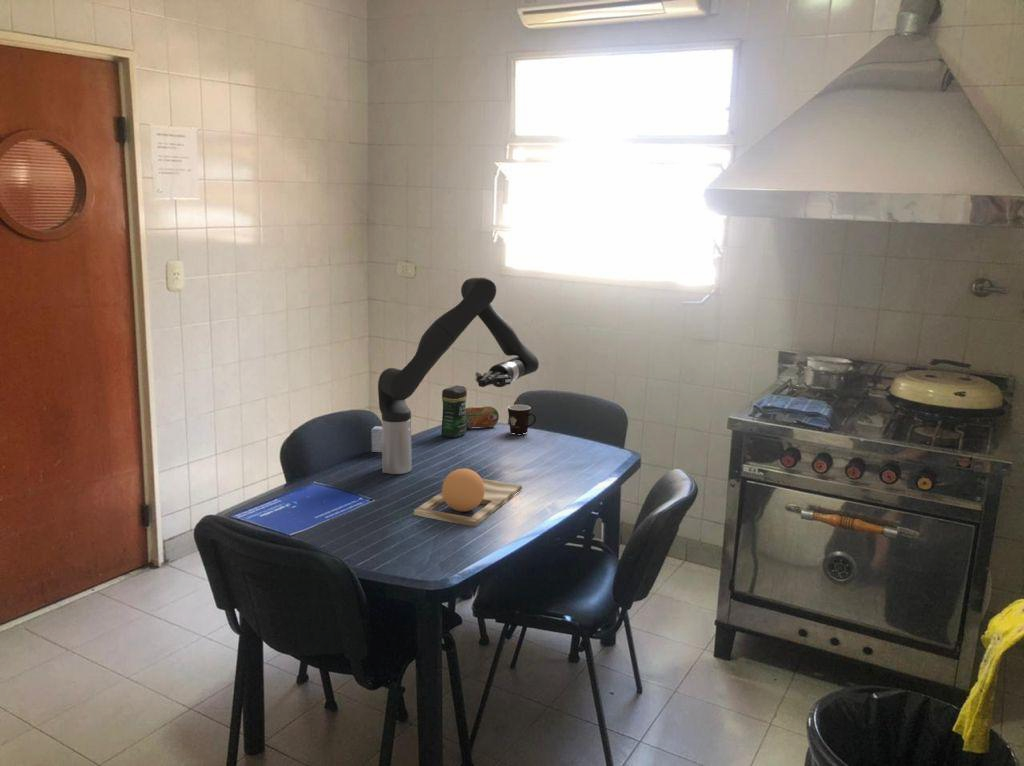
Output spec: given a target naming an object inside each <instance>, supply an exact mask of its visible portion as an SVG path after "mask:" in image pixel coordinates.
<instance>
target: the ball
mask: <svg viewBox="0 0 1024 766" xmlns="http://www.w3.org/2000/svg"><path fill="white" fill-rule="evenodd" d="M482 479H483V478H482V476H480V475H479V474H478V473H477V472H476V471H474V470H472V469H470V468H457V469H455V470H453V471H451V472H450V473H449V474H448V475H447V476H446V477H445V479H444V480H443V483H442V488H441V492H442V494H443V498H444V500H445V501H444V502H445V504H446V505H448V507H449V508H451V509H453V510H455V511H458V512H469V511H471V510H473V509H475V508H477V507H478V506H479V505H481V504H480V503H481V501H482V499H483V497H484V492H485V487H484V483H483V480H482Z"/></svg>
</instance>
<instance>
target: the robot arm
mask: <svg viewBox="0 0 1024 766" xmlns="http://www.w3.org/2000/svg"><path fill="white" fill-rule="evenodd" d="M460 287H461V289H460V293H461V297H462V298H463V299H462V300H461V301H460V302H458V304H457V305H456V306H454V307H453V308H451V309H449V310H448V311H447V312H445V313H443V314H442V315H441V316H439V317H438V318H437V319H436V320H434V321H433V322H432V324H430V326H429V327H428V328H427V329H426V330H425V331H424V333H422V336H421V338H420V339H419V342H418V346H417V350H416V351H415V354H414V355H413V357H412V359H411V360H409V362H408V363H407V365H405V366H404V367H403V368H402V369H398V368H396V367H395V368H394V367H389V368H385V369H384V370H383V371H382V372H381V374H380V375H379V378H378V381H377V382H378V383H377V390H378V391H377V392H378V393H377V394H378V396H377V397H378V408H379V411H380V414H381V426H382V453H381V461H382V462H381V463H382V467H381V470H382V471H381V472H382V473H383V474H389V475H403V474H407V473H409V472H411V471H412V469H413V468H412V465H413V463H412V411H411V409H410V408H409V407H408V404H407V402H406V400H407V399H408V398H410V397H411V396H412V395H413V394H415V391H416V390H417V389H418V388H419V386H420V384H421V383H422V381H423V380H424V379H425V378H426V375H427V374H428V373H429V371H430V370H432V368H433V367H434V366H435V365H436V364H437V362H438V361H439V360H440V359H441V357H442V356H443V355H444V354H445V353H446V352H447V351H448V350H449V349H450V347H452V345H453V344H455V342H456V340H457V339H458V338H459V337H460V336H461V335H462V333H463V332H465V330H466V329H467V328H468V326H469V325H470V324H471V323H472V321H473V320H474V319H475V318H476V317H477V316H478V318H479V319H480V320H481V321H482V323H484V325H485V326H486V327H487V329H488V331H489V332H490V334H491V335H492V336H493V338H494V339H495V341H496V343H497V344H498V345H499V348H500V349H501V351H502V353H503V354H504V355H506V356H508V357H509V356H510V357H512V356H516V357H513V358H511V359H508V360H506V361H502V362H499V363H497V364H494V365H493V366H491V367H490V368H489V370H488V371H487V372H484V373H483V374H482V373H480V372H475V381H476V383H478V384H477V385H478V387H479V388H485V387H487V386H494V387H497V388H503V387H505V386H508V385H511V383H513V382H514V381H516V380H518V379H520V378H522V377H524V376H526V375H527V376H528V375H530V374H532V373H536V372H537V371H538V370H539V367H540V365H539V359H538V358H537V356H536V355H535V354H534V352H532V350H530V349H529V348H528V347H527V346H526V345H525V344H524V342H522V341H521V340H520V337H518V334H517V333H516V332H515V330H514V329H513V327H512V325H511V324H509V322H507V321H506V320H505V318H504V317H502V316H501V315H500V314H499V312H497V311H496V309H495V308H494V306H493V305H492V303H493V301H494V300H495V298H496V294H497V286H496V283H495V282H494V280H492V279H490V278H487V277H473V278H472V277H470V278H468V279H466V280H465V281H463V282H462V285H461V286H460Z"/></svg>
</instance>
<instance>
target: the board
mask: <svg viewBox="0 0 1024 766" xmlns="http://www.w3.org/2000/svg"><path fill="white" fill-rule="evenodd" d="M481 479H482V480H483V483H484V487H485V492H484V497H483V499H482V501H481V503H480V504H479V505H484V507H482V508H481V509H480V510H479V511H476V512H475V513H474V514H473V515H472V516H470V517H469V516H465V515H460V514H454V513H447V512H443V511H438V510H434V509H435V508H437V507H439V506H440V505H441V504H443V503H444V502H445V500H444V498H443V494H442V491H441V492H439V493H438V494H436V495H435V496H433V497H432V498H430V499H428V500H427V501H426V502H424V503H422V504H420V505H419V506H418V507H416V508H415V509H413V515H414V516H416V515H417V516H418V517H423V518H427V519H428V518H429V519H431V520H432V519H433V520H438V521H444V522H449V523H454V524H459V525H464V526H469V527H477V526H478V525H480V523H482V522H483V521H485V520H486V519H487V518H488V517H490V516H491V515H492V514H494V513H495V512H496V511H497V510H498V509H500V508H501V507H502V506H503V504H504V503H505V502H506V501H507V502H509V501H510V500H511V499H512V498H514V497H515V496H516V495H517V494H518V493H517V492H519V491H520V490H521V489H522V490H523V485H522V484H516V483H511V482H503V481H500V480H491V479H486V478H481ZM522 490H521V491H522ZM521 491H520V492H521ZM520 492H519V493H520ZM516 493H517V494H516ZM515 494H516V495H515ZM514 495H515V496H514ZM513 496H514V497H513ZM511 497H512V498H511ZM510 498H511V499H510ZM509 499H510V500H509ZM508 500H509V501H508ZM507 502H506V503H507ZM506 503H505V504H506ZM485 504H487V505H485ZM505 504H504V505H505ZM501 505H502V506H501ZM500 506H501V507H500ZM499 507H500V508H499ZM497 508H498V509H497ZM496 509H497V510H496ZM495 510H496V511H495ZM494 511H495V512H494ZM491 513H492V514H491ZM490 514H491V515H490ZM489 515H490V516H489ZM484 519H485V520H484Z"/></svg>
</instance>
